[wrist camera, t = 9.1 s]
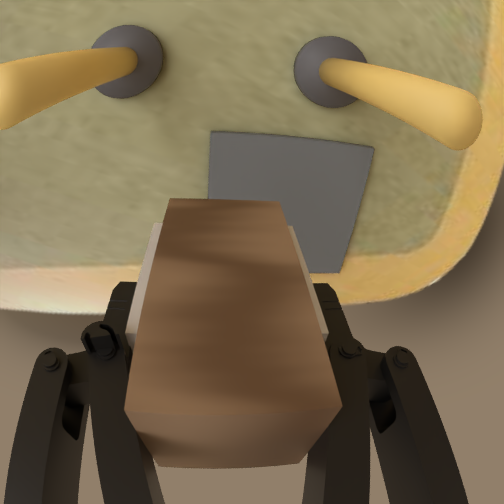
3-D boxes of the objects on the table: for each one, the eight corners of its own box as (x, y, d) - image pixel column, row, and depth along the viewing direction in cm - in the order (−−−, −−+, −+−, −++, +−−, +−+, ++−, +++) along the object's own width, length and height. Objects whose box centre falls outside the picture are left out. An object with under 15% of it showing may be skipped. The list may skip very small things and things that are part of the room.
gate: (91, 99, 21) (-37, 182, 8) (91, 30, 18) (-53, 40, 5) (358, 111, 24) (485, 200, 11) (369, 45, 20) (520, 75, 8)
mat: (206, 268, 32) (206, 271, 32) (210, 130, 24) (210, 132, 24) (337, 269, 34) (339, 273, 34) (371, 146, 26) (374, 148, 25)
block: (175, 281, 17) (159, 466, 9) (169, 198, 14) (124, 410, 6) (266, 283, 18) (298, 463, 10) (279, 201, 15) (342, 406, 7)
